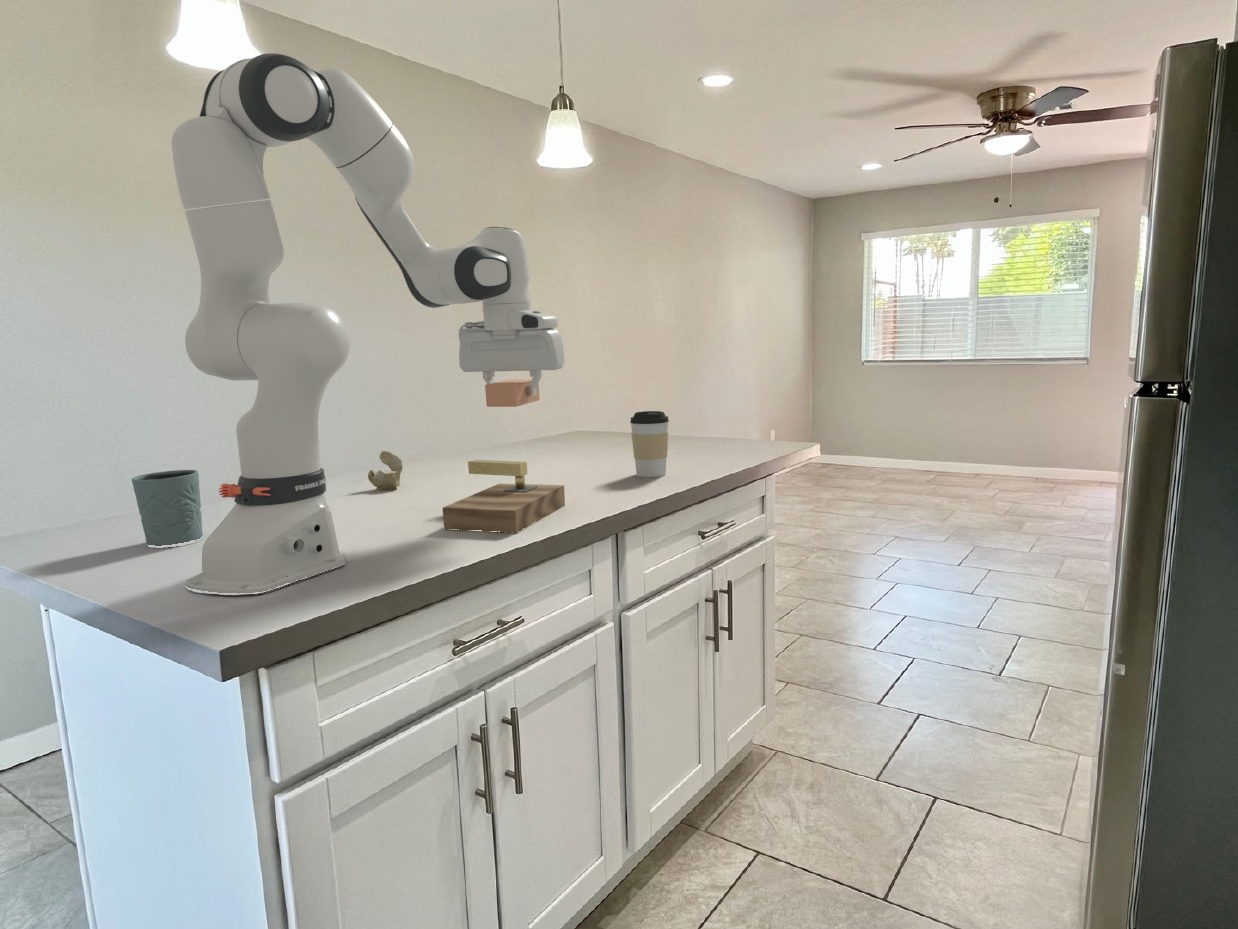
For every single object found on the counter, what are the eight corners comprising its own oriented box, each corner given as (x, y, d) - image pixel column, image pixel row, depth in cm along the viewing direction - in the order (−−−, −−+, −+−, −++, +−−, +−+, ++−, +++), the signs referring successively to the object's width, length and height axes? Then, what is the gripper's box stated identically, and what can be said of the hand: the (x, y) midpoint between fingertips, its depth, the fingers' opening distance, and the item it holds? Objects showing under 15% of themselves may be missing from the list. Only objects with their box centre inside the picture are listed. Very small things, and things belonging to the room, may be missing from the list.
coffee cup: (645, 470, 190) (644, 408, 187) (677, 472, 184) (676, 409, 182) (624, 476, 182) (621, 412, 180) (656, 479, 177) (654, 413, 175)
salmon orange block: (516, 406, 141) (514, 384, 140) (486, 406, 143) (485, 384, 142) (539, 400, 150) (538, 379, 149) (511, 400, 152) (509, 379, 151)
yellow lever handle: (528, 486, 151) (526, 461, 151) (521, 488, 149) (519, 464, 148) (476, 483, 157) (475, 459, 156) (469, 485, 154) (468, 461, 154)
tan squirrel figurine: (379, 487, 171) (367, 446, 174) (368, 499, 176) (357, 459, 178) (415, 484, 177) (403, 444, 180) (403, 495, 182) (391, 457, 184)
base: (516, 533, 133) (515, 509, 133) (444, 529, 138) (442, 506, 137) (564, 505, 154) (563, 484, 153) (500, 502, 158) (499, 482, 158)
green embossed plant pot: (173, 551, 130) (163, 480, 128) (126, 548, 133) (116, 479, 131) (220, 535, 140) (212, 469, 138) (175, 533, 143) (166, 468, 141)
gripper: (449, 322, 144) (455, 398, 146) (551, 318, 137) (556, 397, 140) (466, 321, 150) (472, 394, 152) (565, 317, 143) (569, 393, 146)
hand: (513, 395), depth 146 cm, fingers closed on salmon orange block, 6 cm apart
